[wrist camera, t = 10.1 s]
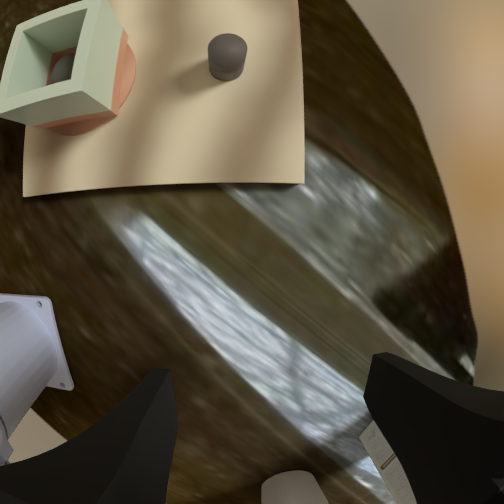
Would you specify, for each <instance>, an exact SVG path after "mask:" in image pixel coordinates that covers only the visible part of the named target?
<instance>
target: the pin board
mask: <svg viewBox="0 0 504 504" xmlns="http://www.w3.org/2000/svg"><path fill="white" fill-rule="evenodd" d="M107 1H108V3H109V5H110V6H111V8H112V10H113V11H114V13H115V15H116V16H117V18H118V20H119V21H120V23H121V25H122V26H123V28H124V30H125V31H126V33H127V35H128V41H127V46H126V52H125V58H124V65H123V72H122V80H121V88H120V98H119V108H118V116H110V117H103V118H97V119H90V120H84V121H79V122H73V123H68V124H63V125H58V126H53V127H49V128H44V129H40V128H36V127H33V126H29V125H26V129H25V141H24V158H23V197H31V196H38V195H46V194H54V193H63V192H72V191H82V190H92V189H103V188H116V187H130V186H146V185H165V184H193V183H291V184H304V102H303V75H302V54H301V38H300V23H299V10H298V0H107ZM75 55H76V54H68V55H66V56H64V57H62V58H61V59H60V60H59V61H58V62H57V63H56V65H55V66H54V68H53V71H52V80H53V82H54V83H58V82H62V81H66V80H70V79H71V75H72V70H73V65H74V60H75Z"/></svg>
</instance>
